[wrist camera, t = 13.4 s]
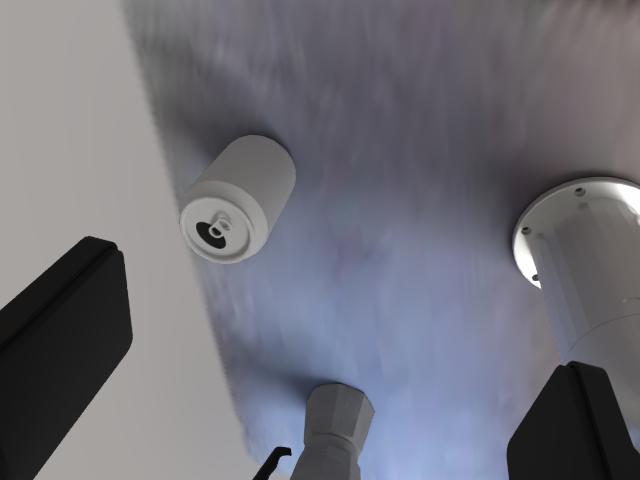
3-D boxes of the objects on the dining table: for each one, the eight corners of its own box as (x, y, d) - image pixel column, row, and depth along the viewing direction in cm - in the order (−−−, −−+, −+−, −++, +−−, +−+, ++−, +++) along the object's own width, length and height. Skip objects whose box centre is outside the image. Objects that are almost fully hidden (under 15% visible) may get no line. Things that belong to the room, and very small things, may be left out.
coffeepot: (391, 388, 61) (376, 537, 46) (388, 433, 66) (374, 580, 52) (274, 372, 64) (225, 508, 49) (280, 417, 69) (238, 552, 55)
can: (210, 162, 48) (152, 225, 38) (258, 115, 44) (207, 171, 34) (264, 214, 50) (222, 286, 40) (314, 173, 46) (281, 242, 37)
